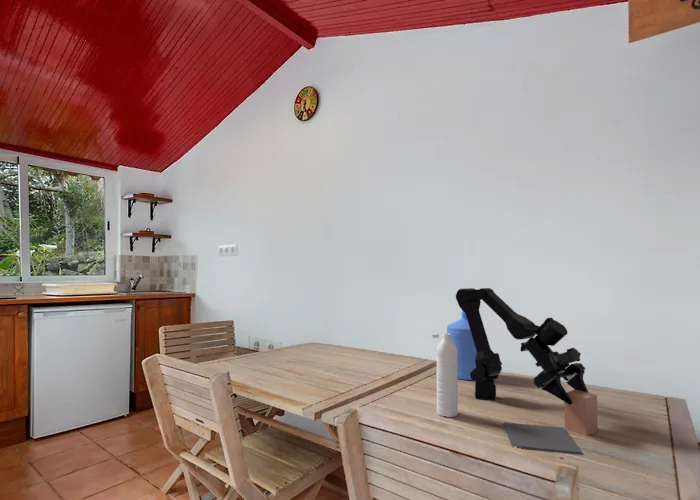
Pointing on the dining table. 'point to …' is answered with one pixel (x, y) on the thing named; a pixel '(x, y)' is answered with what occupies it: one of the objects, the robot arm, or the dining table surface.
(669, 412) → the dining table surface
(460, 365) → the water jug
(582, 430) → the pink upright block
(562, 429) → the charcoal mat
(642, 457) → the dining table surface
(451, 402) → the water bottle
